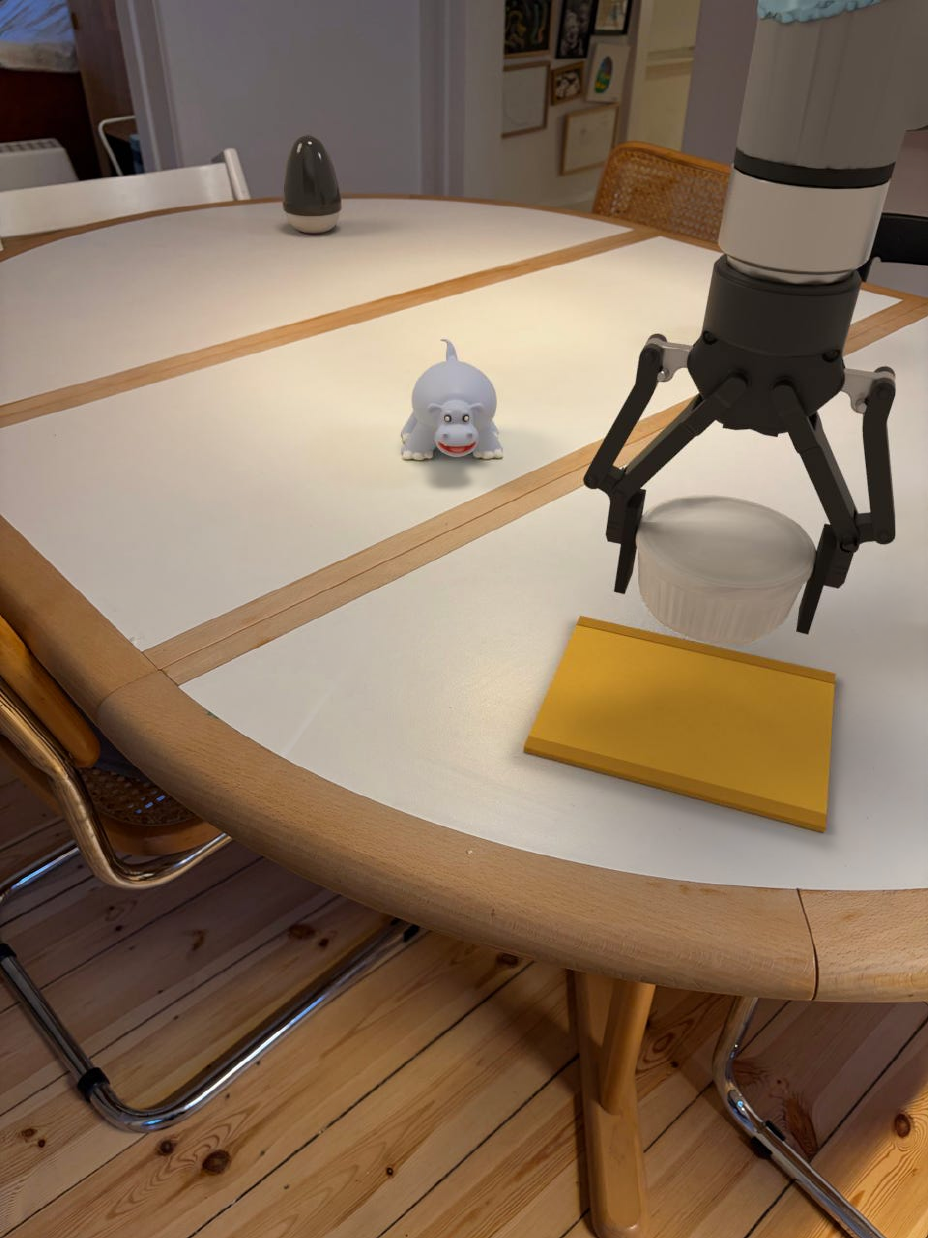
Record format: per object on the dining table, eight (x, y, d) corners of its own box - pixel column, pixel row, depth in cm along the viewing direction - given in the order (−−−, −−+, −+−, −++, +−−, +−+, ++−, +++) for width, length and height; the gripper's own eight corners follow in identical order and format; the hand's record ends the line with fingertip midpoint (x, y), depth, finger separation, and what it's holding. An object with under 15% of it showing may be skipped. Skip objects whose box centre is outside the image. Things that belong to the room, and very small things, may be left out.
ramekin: (704, 540, 68) (718, 476, 65) (833, 617, 61) (856, 549, 58) (591, 591, 63) (599, 523, 59) (718, 681, 56) (736, 610, 52)
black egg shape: (344, 221, 170) (339, 128, 161) (341, 237, 162) (336, 140, 152) (287, 221, 169) (279, 127, 160) (282, 237, 161) (273, 140, 152)
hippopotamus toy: (403, 486, 93) (401, 397, 87) (400, 420, 105) (398, 338, 99) (510, 484, 94) (515, 395, 88) (495, 419, 106) (498, 337, 100)
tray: (834, 678, 71) (835, 673, 71) (824, 833, 59) (826, 827, 59) (579, 620, 76) (580, 615, 76) (522, 751, 64) (523, 746, 64)
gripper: (1029, 268, 48) (899, 608, 61) (585, 217, 54) (554, 537, 67) (1048, 315, 43) (900, 678, 56) (551, 252, 48) (524, 593, 62)
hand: (711, 601), depth 62 cm, fingers closed on ramekin, 11 cm apart
